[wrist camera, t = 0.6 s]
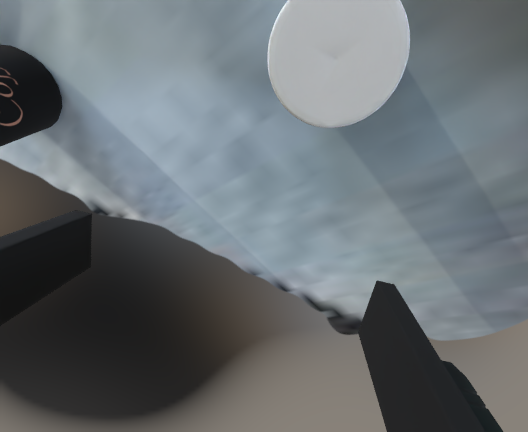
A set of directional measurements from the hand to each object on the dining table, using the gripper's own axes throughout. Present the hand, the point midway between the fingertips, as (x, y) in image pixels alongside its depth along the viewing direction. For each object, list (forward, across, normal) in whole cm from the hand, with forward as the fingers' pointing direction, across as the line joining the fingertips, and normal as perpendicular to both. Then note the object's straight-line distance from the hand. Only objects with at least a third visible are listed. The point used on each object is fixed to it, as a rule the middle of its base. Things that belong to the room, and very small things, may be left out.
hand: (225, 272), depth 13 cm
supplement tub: (+24, +3, +16) cm, 29 cm away
